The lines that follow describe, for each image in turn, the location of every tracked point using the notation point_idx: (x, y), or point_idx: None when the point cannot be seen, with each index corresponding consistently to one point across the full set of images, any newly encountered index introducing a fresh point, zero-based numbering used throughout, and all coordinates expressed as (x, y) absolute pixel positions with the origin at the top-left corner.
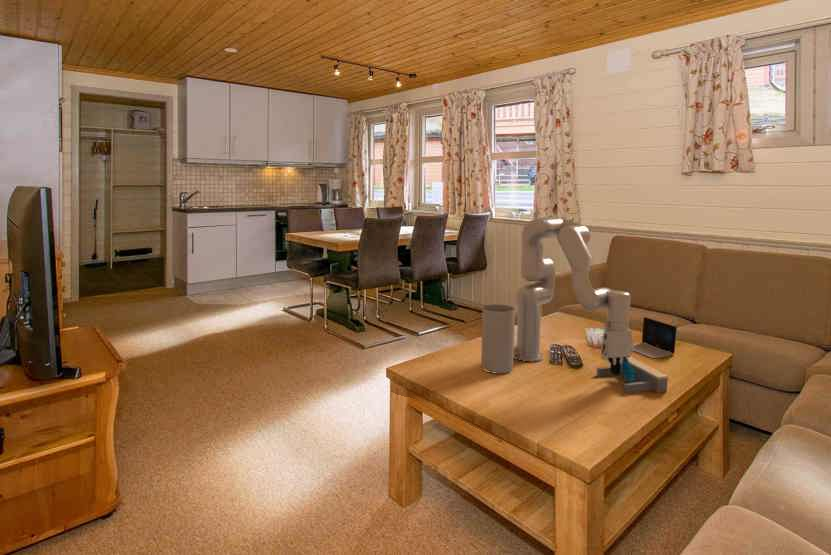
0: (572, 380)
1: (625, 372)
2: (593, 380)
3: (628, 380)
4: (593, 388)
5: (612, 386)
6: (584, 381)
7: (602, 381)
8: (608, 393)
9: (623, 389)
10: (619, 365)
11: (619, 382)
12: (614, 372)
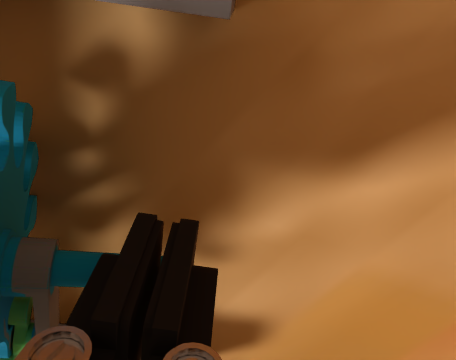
0: (442, 353)
1: (22, 237)
2: (292, 305)
3: (32, 170)
4: (440, 188)
5: (236, 161)
6: (375, 314)
7: (238, 269)
8: (421, 32)
9: (233, 9)
10: (111, 313)
11: (109, 207)
12: (193, 259)
